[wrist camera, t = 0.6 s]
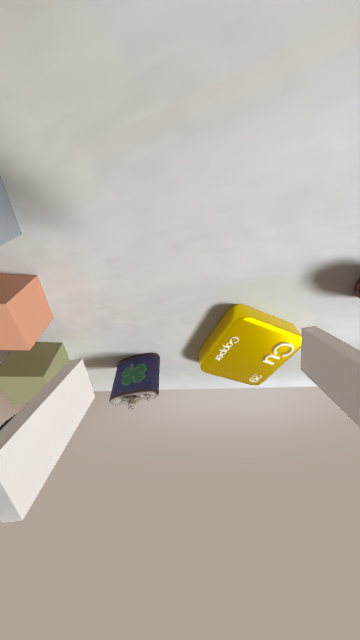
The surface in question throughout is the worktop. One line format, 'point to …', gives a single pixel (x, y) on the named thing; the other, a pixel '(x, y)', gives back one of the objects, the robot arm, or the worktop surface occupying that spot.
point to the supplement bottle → (358, 289)
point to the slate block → (7, 218)
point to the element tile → (248, 345)
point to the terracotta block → (22, 311)
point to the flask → (136, 379)
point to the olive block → (31, 370)
